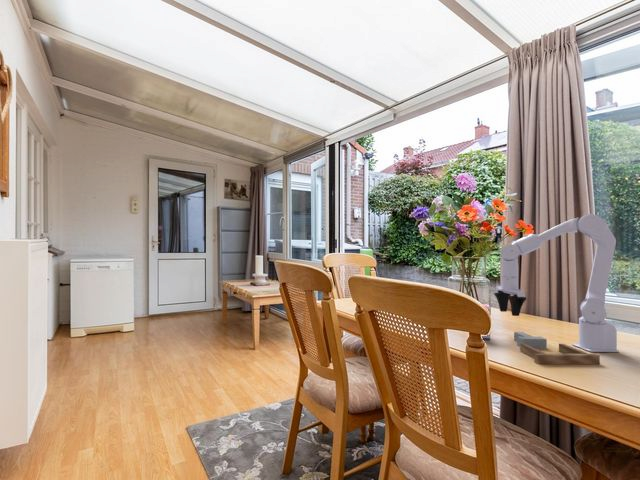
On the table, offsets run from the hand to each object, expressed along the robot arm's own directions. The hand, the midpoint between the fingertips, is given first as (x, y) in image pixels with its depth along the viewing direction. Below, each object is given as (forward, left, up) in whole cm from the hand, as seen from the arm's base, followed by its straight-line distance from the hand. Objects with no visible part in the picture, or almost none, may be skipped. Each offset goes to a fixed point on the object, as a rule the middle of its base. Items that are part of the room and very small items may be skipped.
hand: (509, 313), depth 127 cm
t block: (0, +9, -8) cm, 13 cm away
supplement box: (+12, +1, -9) cm, 15 cm away
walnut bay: (0, +22, -8) cm, 24 cm away
